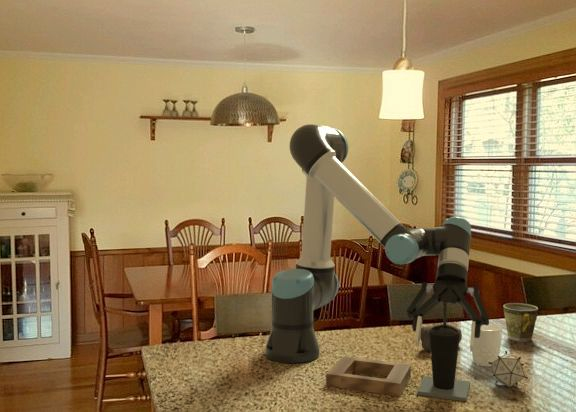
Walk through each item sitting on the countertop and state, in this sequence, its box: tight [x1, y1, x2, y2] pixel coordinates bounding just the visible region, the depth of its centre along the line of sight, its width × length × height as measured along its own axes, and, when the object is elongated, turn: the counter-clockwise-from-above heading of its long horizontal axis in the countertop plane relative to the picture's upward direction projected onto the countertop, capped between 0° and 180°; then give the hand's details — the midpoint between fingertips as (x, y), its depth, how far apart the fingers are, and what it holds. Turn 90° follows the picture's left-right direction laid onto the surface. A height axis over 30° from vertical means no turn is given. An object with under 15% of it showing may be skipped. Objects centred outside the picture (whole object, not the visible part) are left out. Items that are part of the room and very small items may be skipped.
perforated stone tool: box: [420, 326, 463, 352], centre depth 175 cm, size 15×5×7 cm, turn 112°
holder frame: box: [325, 356, 412, 397], centre depth 149 cm, size 18×14×3 cm
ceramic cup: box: [502, 302, 539, 343], centre depth 184 cm, size 13×10×10 cm
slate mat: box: [416, 375, 471, 402], centre depth 144 cm, size 11×11×1 cm
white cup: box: [470, 322, 503, 368], centre depth 163 cm, size 8×8×10 cm
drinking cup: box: [428, 303, 462, 390], centre depth 143 cm, size 8×8×20 cm
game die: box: [488, 350, 529, 391], centre depth 146 cm, size 9×8×10 cm
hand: (443, 345), depth 140 cm, fingers open, 12 cm apart
